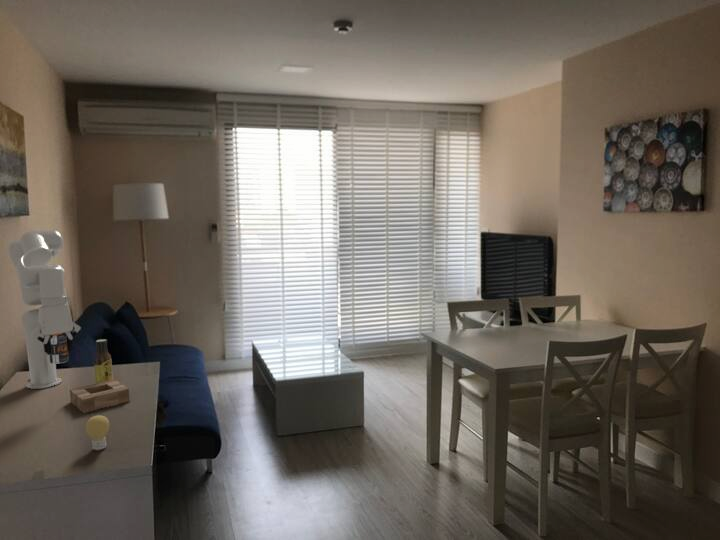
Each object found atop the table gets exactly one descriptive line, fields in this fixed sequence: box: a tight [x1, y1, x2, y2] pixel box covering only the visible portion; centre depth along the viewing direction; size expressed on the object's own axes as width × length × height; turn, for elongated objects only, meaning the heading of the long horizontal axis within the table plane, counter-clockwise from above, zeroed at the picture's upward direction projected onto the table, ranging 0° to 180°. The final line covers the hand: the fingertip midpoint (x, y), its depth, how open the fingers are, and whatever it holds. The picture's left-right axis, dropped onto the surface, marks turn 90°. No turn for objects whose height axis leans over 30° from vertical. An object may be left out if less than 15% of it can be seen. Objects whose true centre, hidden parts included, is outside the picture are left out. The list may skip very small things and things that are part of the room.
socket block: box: [69, 378, 131, 414], centre depth 210 cm, size 16×16×5 cm
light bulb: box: [85, 414, 110, 451], centre depth 168 cm, size 6×6×10 cm
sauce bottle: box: [93, 338, 114, 384], centre depth 224 cm, size 6×6×20 cm
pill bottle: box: [48, 333, 70, 365], centre depth 201 cm, size 6×6×11 cm
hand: (58, 351), depth 201 cm, fingers closed on pill bottle, 6 cm apart
